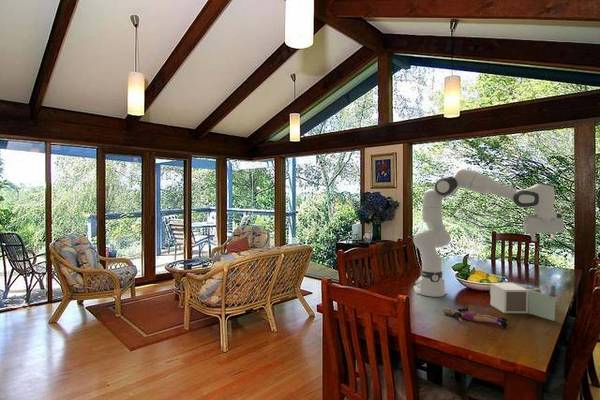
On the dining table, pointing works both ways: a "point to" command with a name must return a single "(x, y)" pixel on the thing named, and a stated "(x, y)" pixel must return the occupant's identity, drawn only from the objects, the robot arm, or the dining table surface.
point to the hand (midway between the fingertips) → (542, 241)
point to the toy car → (524, 287)
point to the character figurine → (474, 316)
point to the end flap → (542, 303)
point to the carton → (509, 298)
